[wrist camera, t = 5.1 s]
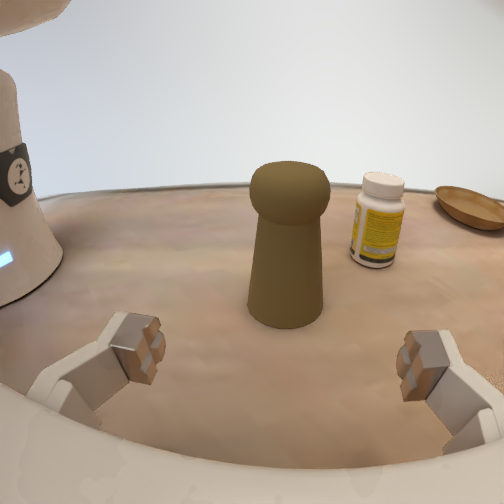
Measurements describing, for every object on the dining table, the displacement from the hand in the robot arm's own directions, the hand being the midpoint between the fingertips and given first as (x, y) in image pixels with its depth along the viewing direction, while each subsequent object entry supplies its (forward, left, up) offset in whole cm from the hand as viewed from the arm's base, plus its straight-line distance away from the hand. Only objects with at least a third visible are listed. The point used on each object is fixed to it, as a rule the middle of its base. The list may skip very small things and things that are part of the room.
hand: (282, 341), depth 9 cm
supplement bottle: (+12, +18, -9) cm, 23 cm away
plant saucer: (+36, +28, -9) cm, 47 cm away
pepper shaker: (+2, +12, -9) cm, 15 cm away
